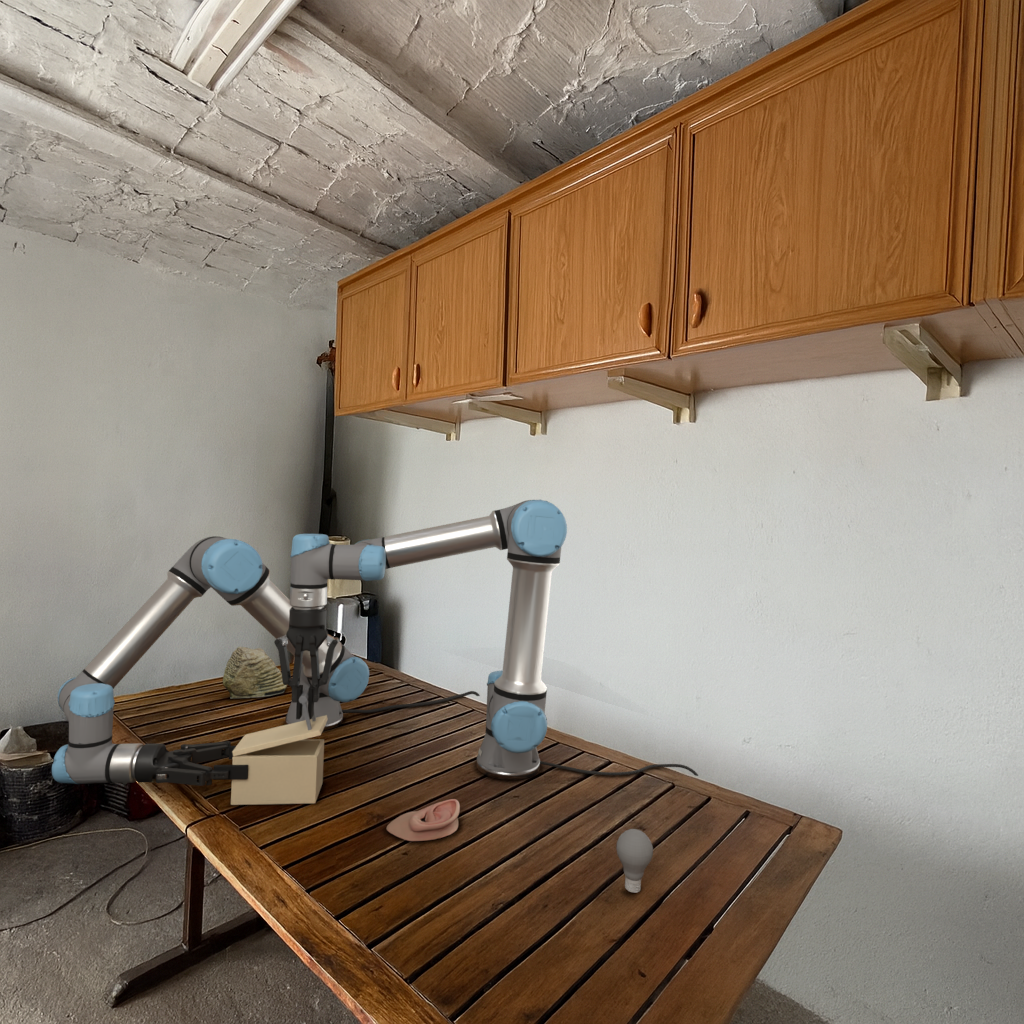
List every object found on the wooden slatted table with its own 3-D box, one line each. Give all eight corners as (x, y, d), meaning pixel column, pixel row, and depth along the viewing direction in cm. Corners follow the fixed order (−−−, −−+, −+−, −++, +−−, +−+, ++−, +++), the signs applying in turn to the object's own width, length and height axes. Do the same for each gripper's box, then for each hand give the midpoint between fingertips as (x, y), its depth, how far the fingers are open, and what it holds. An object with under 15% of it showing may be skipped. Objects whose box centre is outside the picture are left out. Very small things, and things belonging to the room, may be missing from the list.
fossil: (218, 695, 195) (220, 647, 195) (278, 685, 208) (279, 640, 207) (228, 703, 189) (230, 653, 188) (289, 692, 201) (290, 645, 201)
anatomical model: (380, 815, 119) (403, 788, 130) (379, 836, 119) (402, 808, 130) (448, 826, 116) (465, 797, 127) (447, 847, 116) (464, 817, 127)
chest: (322, 783, 140) (324, 739, 140) (315, 803, 131) (317, 756, 131) (243, 784, 138) (245, 739, 138) (230, 805, 129) (232, 757, 128)
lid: (327, 719, 140) (319, 682, 139) (320, 735, 131) (312, 695, 130) (246, 739, 138) (237, 701, 137) (233, 756, 128) (224, 716, 128)
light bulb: (610, 879, 108) (613, 822, 108) (644, 879, 109) (647, 822, 109) (619, 902, 102) (622, 840, 102) (655, 901, 103) (658, 840, 103)
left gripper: (162, 759, 141) (266, 758, 144) (113, 806, 120) (238, 804, 123) (163, 725, 141) (268, 725, 144) (115, 767, 120) (239, 766, 123)
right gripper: (267, 609, 130) (264, 723, 130) (341, 610, 131) (337, 722, 132) (276, 603, 137) (273, 711, 137) (346, 604, 139) (342, 710, 139)
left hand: (254, 761), depth 133 cm, fingers closed on chest, 9 cm apart
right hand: (304, 716), depth 135 cm, fingers closed on lid, 2 cm apart
